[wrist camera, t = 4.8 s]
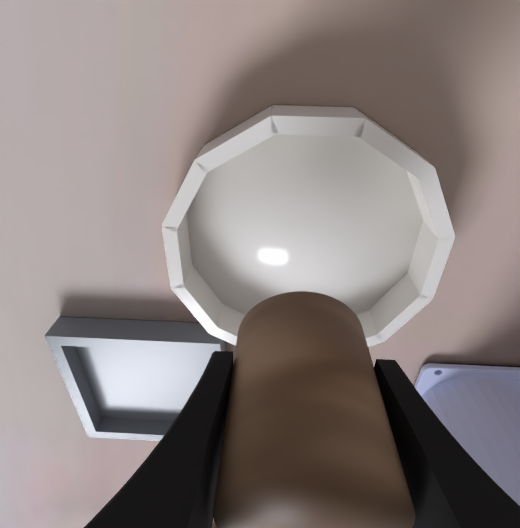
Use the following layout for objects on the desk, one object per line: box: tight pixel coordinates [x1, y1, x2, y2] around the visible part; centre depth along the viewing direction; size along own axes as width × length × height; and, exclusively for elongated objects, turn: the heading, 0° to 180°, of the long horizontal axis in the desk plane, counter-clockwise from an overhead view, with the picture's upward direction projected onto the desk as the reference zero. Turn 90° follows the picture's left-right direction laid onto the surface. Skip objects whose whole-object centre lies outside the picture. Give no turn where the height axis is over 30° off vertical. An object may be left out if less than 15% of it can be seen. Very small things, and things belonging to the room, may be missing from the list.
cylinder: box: [213, 291, 415, 528], centre depth 11 cm, size 5×5×6 cm
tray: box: [45, 317, 225, 441], centre depth 25 cm, size 11×11×2 cm
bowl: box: [162, 105, 455, 347], centre depth 18 cm, size 14×14×2 cm
